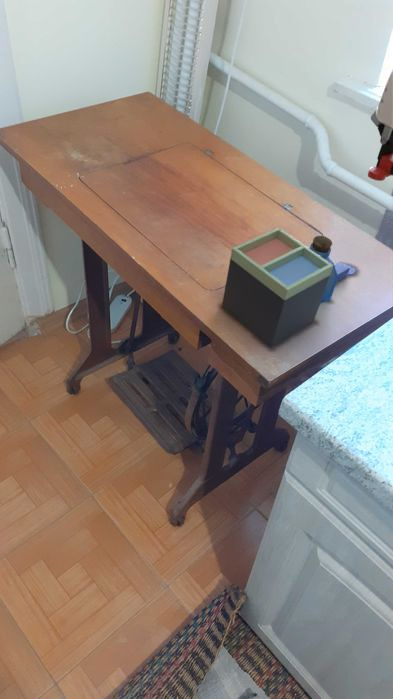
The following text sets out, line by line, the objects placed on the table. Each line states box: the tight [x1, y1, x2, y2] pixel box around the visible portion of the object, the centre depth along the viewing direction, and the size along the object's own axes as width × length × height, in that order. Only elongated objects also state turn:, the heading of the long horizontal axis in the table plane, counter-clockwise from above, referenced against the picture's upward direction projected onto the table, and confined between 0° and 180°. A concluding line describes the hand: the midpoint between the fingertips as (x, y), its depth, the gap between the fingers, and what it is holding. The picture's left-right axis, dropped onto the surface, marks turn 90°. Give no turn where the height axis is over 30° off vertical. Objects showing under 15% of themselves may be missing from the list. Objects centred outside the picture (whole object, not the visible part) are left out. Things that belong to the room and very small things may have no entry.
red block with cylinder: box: [367, 153, 393, 182], centre depth 92 cm, size 7×3×3 cm, turn 130°
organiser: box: [230, 227, 333, 300], centre depth 83 cm, size 10×12×2 cm
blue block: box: [334, 261, 356, 282], centre depth 101 cm, size 7×3×3 cm, turn 130°
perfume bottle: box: [308, 235, 338, 304], centre depth 92 cm, size 6×6×12 cm
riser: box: [221, 258, 330, 349], centre depth 88 cm, size 10×12×11 cm
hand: (389, 168), depth 93 cm, fingers closed on red block with cylinder, 2 cm apart
